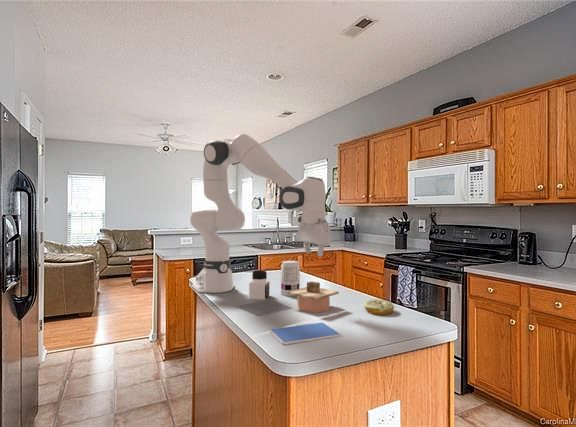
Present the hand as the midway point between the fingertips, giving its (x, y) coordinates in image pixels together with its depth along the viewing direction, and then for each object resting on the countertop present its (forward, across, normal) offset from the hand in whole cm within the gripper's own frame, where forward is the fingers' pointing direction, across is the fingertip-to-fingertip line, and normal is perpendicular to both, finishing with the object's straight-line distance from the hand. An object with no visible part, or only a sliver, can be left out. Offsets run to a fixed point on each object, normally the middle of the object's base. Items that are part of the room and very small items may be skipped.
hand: (313, 254), depth 135 cm
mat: (+21, +7, +18) cm, 28 cm away
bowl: (+21, 0, 0) cm, 21 cm away
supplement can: (+21, +23, 0) cm, 31 cm away
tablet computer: (+22, -23, +16) cm, 35 cm away
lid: (+15, 0, 0) cm, 15 cm away
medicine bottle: (+21, +23, +14) cm, 34 cm away
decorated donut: (+21, -13, -21) cm, 33 cm away
